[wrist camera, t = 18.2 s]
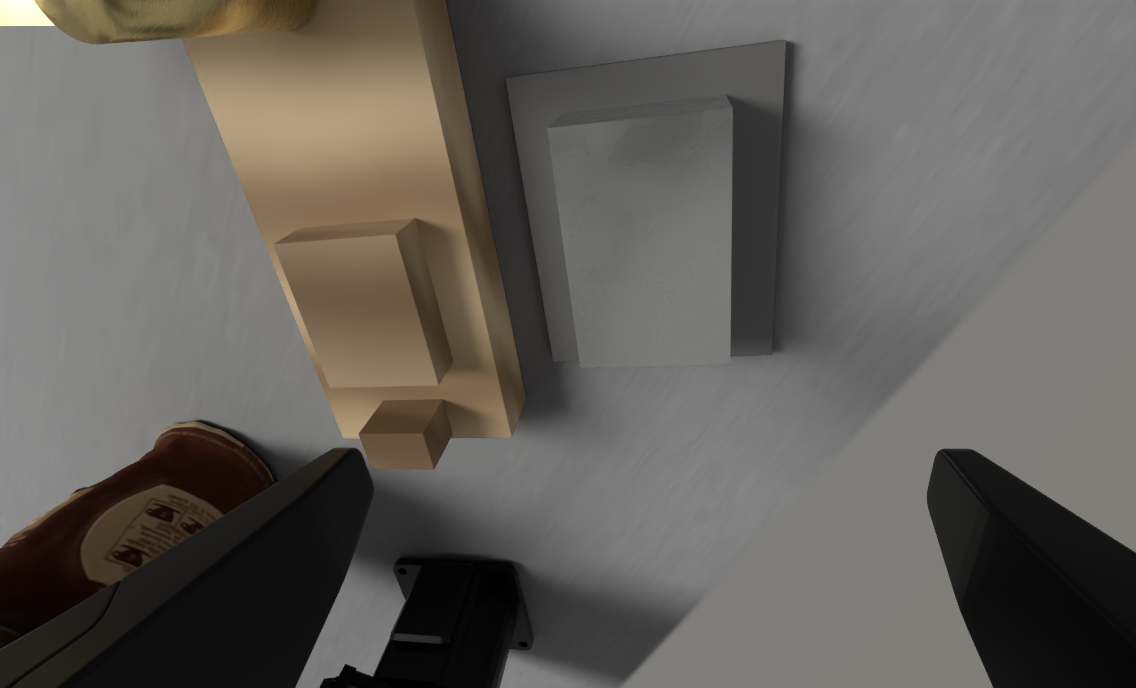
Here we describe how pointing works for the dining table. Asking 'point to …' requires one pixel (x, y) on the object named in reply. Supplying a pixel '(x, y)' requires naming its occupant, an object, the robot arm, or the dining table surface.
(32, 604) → the brown jar
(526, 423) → the dining table surface
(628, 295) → the grey flat block
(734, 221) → the mat
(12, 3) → the latch lever
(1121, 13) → the dining table surface
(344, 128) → the latch plate
